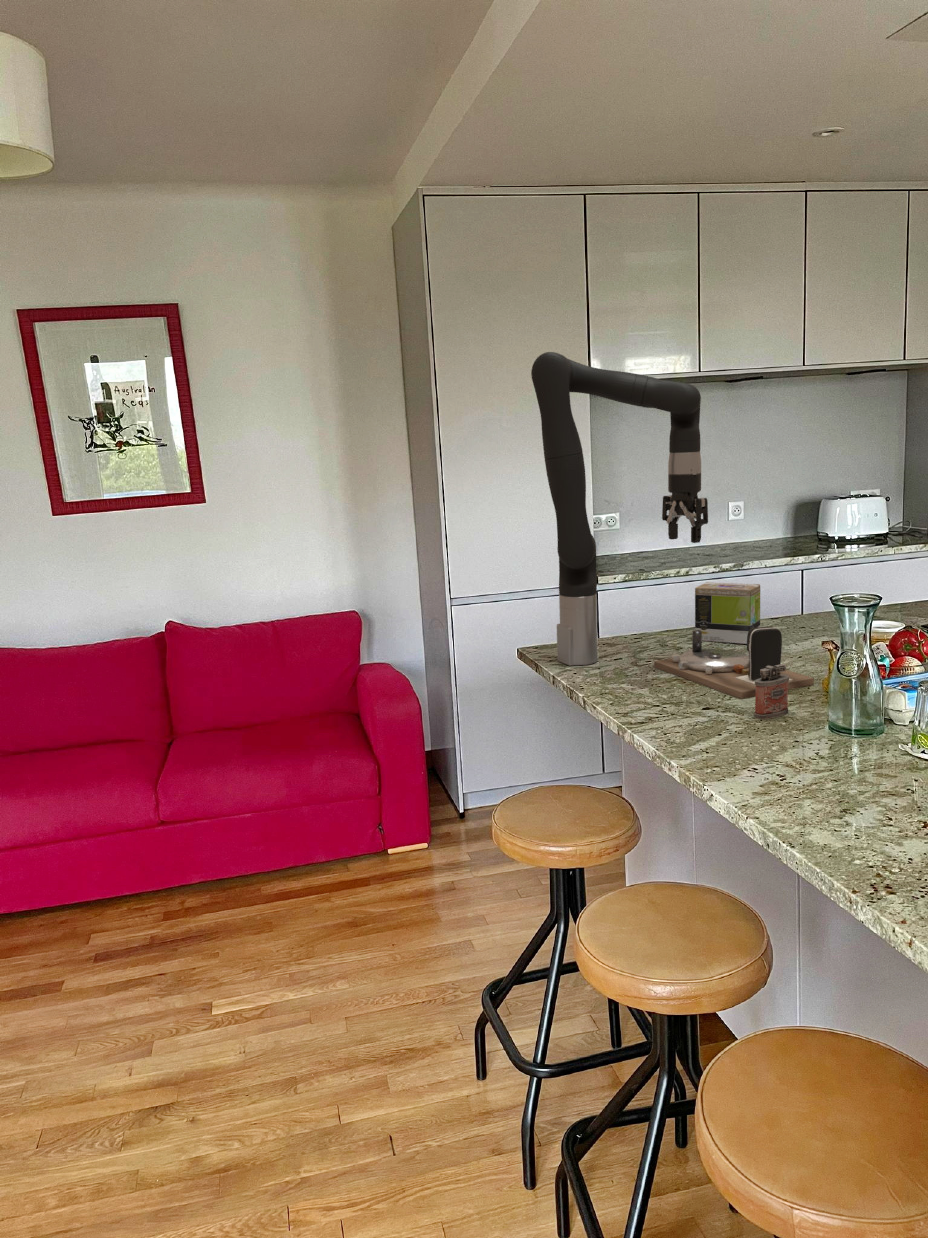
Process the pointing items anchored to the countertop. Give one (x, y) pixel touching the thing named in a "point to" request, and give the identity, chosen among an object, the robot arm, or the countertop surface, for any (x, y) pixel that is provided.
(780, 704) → the lighter
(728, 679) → the board
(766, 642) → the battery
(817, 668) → the countertop surface
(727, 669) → the sprocket
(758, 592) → the tea box
